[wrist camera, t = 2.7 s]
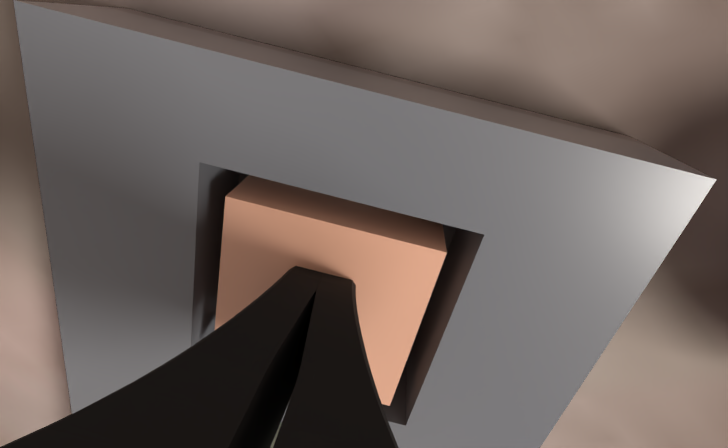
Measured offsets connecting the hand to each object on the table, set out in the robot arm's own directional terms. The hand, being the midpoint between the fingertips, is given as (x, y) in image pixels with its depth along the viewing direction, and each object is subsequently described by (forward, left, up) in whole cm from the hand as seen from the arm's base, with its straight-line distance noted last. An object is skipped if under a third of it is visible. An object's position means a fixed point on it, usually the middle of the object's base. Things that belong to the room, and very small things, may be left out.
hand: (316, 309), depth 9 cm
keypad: (0, +10, -3) cm, 10 cm away
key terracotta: (0, 0, -2) cm, 2 cm away
